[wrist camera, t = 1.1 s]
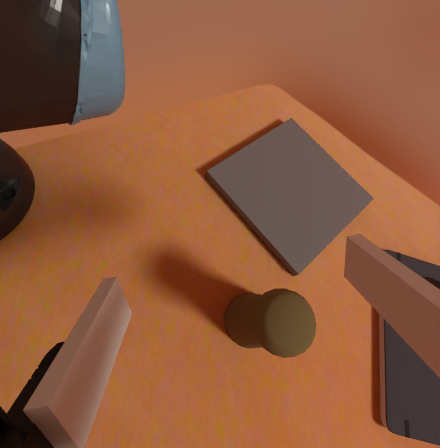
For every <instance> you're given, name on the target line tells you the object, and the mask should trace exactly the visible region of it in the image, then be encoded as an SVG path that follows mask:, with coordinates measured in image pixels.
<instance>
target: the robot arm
mask: <svg viewBox="0 0 440 448" xmlns="http://www.w3.org/2000/svg"><path fill="white" fill-rule="evenodd" d="M122 41H123V40H122V32H121V24H120V16H119V10H118V4H117V0H0V133H1V132H8V131H15V130H22V129H30V128H37V127H44V126H51V125H58V124H65V123H68V124H70V125H75V124H76V123H78V122H80V121H81V120H86V119H91V118H96V117H102V116H106V115H110V114H112V113H114V112H115V111H116V110H117V109H118V108H119V107H120V105H121V104H122V101H123V99H124V93H125V63H124V50H123V42H122ZM34 190H35V184H34V177H33V174H32V171H31V169H30V167H29V166H28V164H27V163H26V162H25V160H24V159H23V158H22V157H21V156H20V155H19V154H18V153H17V152H16V151H15V150H14V149H13V148H12V147H11V146H9V145H8V144H7V143H5V142H4V141H2V140H1V139H0V240H1V239H2V238H4V237H5V236H6V235H8V234H9V233H10V232H11V231H12V230H13V229H14V228H15V227H16V226H17V225H18V224H19V223H20V222H21V221H22V219H23V218H24V216H25V215H26V213H27V212H28V210H29V208H30V206H31V203H32V200H33V196H34ZM344 277H345V278H346V279H347V280H348V281H349V282H350V283H351V284H352V285H353V286H354V287H355V288H356V290H357V291H358V292H359V293H360V294H361V295H362V296H363V297H364V298H365V299H366V300H367V301H368V302H369V303H370V304H371V306H372V307H373V308H374V309H375V310H376V311H377V312H378V313H379V314H380V315H381V316H382V317H383V318H384V319H385V320H386V321H387V323H388V324H389V325H390V326H391V327H392V328H393V329H394V330H395V331H396V332H397V333H398V334H399V335H400V336H401V337H402V338H403V340H404V341H405V342H406V343H407V344H408V345H409V346H410V347H411V348H412V349H413V350H414V351H415V352H416V353H417V354H418V356H419V357H420V358H421V359H422V360H423V361H424V362H425V363H426V364H427V365H428V366H429V367H430V368H431V369H432V370H433V371H434V373H435V374H436V375H437V376H438V377H439V378H440V281H438V280H435V279H433V278H430V277H423V278H422V277H421V276H419V275H418V274H417V273H415V272H414V271H412V270H411V269H409V268H408V267H406V266H405V265H404V264H402V263H401V262H399V261H398V260H396V259H395V258H394V257H392V256H391V255H389V254H388V253H386V252H385V251H383V250H382V249H381V248H379V247H378V246H376V245H375V244H373V243H372V242H371V241H369V240H368V239H366V238H365V237H363V236H362V235H360V234H358V235H353V236H347V241H346V256H345V270H344ZM131 315H132V313H131V310H130V308H129V305H128V303H127V300H126V298H125V295H124V293H123V290H122V288H121V285H120V283H119V280H118V278H117V277H112V278H106V279H103V281H102V282H101V284H100V286H99V287H98V289H97V290H96V292H95V294H94V295H93V297H92V299H91V300H90V302H89V303H88V305H87V307H86V308H85V310H84V312H83V313H82V315H81V316H80V318H79V320H78V321H77V323H76V325H75V326H74V328H73V330H72V331H71V333H70V334H69V336H68V338H67V339H66V341H65V342H60V343H57V344H56V345H55V346H54V347H53V348H52V349H51V350H50V351H49V352H48V353H47V354H46V355H45V357H44V358H43V360H42V361H41V363H40V364H39V366H38V369H36V370H35V372H34V373H33V375H32V376H31V377H32V378H31V379H29V381H28V382H27V384H26V385H25V387H24V388H23V390H22V391H21V393H20V394H19V396H18V397H17V399H16V400H15V402H14V403H13V405H12V407H11V408H10V410H9V411H8V413H7V414H6V412H5V411H4V410H3V409H2V408H1V407H0V448H84V447H85V444H86V442H87V439H88V436H89V433H90V430H91V428H92V425H93V422H94V419H95V416H96V413H97V411H98V408H99V405H100V402H101V399H102V397H103V394H104V391H105V388H106V385H107V382H108V380H109V377H110V374H111V371H112V368H113V366H114V363H115V360H116V357H117V354H118V351H119V349H120V346H121V343H122V340H123V337H124V335H125V332H126V329H127V326H128V323H129V320H130V318H131Z"/></svg>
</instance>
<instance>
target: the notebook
mask: <svg viewBox="0 0 440 448" xmlns="http://www.w3.org/2000/svg"><path fill="white" fill-rule="evenodd" d="M384 251H385V252H386V253H388V254H389V255H391V256H392V257H394V258H395V259H396V260H398V261H399V262H401V263H402V264H404V265H405V266H406V267H408V268H409V269H411V270H412V271H414V272H415V273H417V274H418V275H419V276H421V277H422V278H423V277H430V278H433V279H435V280H438V281H440V266H438V265H435V264H431V263H428V262H425V261H422V260H419V259H416V258H413V257H409V256H406V255H403V254H400V253H397V252H394V251H391V250H384ZM379 358H380V418H381V422H382V424H383V425H384V426H385V427H387V428H388V429H389V431H390V432H392V433H394V434H397V435H401V436H404V437H408V438H413V439H417V440H421V441H424V442H428V443H432V444H436V445H440V378H439V377H438V376H437V375H436V374H435V373H434V371H433V370H432V369H431V368H430V367H429V366H428V365H427V364H426V363H425V362H424V361H423V360H422V359H421V358H420V357H419V356H418V354H417V353H416V352H415V351H414V350H413V349H412V348H411V347H410V346H409V345H408V344H407V343H406V342H405V341H404V340H403V338H402V337H401V336H400V335H399V334H398V333H397V332H396V331H395V330H394V329H393V328H392V327H391V326H390V325H389V324H388V323H387V321H386V320H385V319H384V318H383V317H382V316H381V315H380V314H379Z"/></svg>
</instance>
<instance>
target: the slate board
mask: <svg viewBox="0 0 440 448" xmlns="http://www.w3.org/2000/svg"><path fill="white" fill-rule="evenodd" d="M206 178H207V179H208V180H209V181H210V182H211V183H212V185H213V186H214V187H215V188H216V189H217V190H218V191H219V193H220V194H221V195H222V196H223V197H224V198H225V199H226V200H227V202H228V203H229V204H230V205H231V206H232V207H233V208H234V210H235V211H236V212H237V213H238V214H239V215H240V216H241V218H242V219H243V220H244V221H245V222H246V223H247V224H248V225H249V227H250V228H251V229H252V230H253V231H254V232H255V233H256V235H257V236H258V237H259V238H260V239H261V240H262V241H263V242H264V244H265V245H266V246H267V247H268V248H269V249H270V250H271V252H272V253H273V254H274V255H275V256H276V257H277V258H278V259H279V261H280V262H281V263H282V264H283V265H284V266H285V267H286V269H287V270H288V271H289V272H290V273H291V274H292V275H293V276H295V275H298V274H300V273H301V272H302V271H303V270H304V269H305V268H306V267H307V265H308V264H309V263H310V262H311V261H312V260H313V259H314V258H315V257H316V256H317V255H318V254H319V253H320V252H321V251H322V250H323V249H324V248H325V247H326V246H327V245H328V244H329V243H330V242H331V241H332V240H333V239H334V238H335V237H336V236H337V235H338V234H339V233H340V232H341V231H342V230H343V229H344V228H345V227H346V226H347V225H348V224H349V223H350V222H351V221H352V220H353V219H354V218H355V217H356V216H357V215H358V214H359V213H360V212H361V211H362V210H363V209H364V208H365V207H366V206H367V205H368V204H369V203H370V202H371V201H372V200H373V199H374V198H373V197H372V196H371V195H370V194H369V193H368V192H367V191H366V190H364V189H363V188H362V187H361V186H360V185H359V184H358V183H357V182H356V181H355V180H354V179H353V178H352V177H351V176H350V175H349V174H348V173H347V172H346V171H345V170H344V169H343V168H342V167H341V166H340V165H339V164H338V163H337V162H336V161H335V160H334V159H333V158H332V157H331V156H330V155H329V154H328V153H327V152H326V151H325V150H324V149H323V148H322V147H321V146H320V145H318V144H317V143H316V142H315V141H314V140H313V139H312V138H311V137H310V136H309V135H308V134H307V133H306V132H305V131H304V130H303V129H302V128H301V127H300V126H299V125H298V124H297V123H296V122H295V121H294V120H293V119H292V118H290V119H289V120H287V121H286V122H284V123H282V124H281V125H279V126H278V127H276V128H274V129H273V130H271V131H270V132H268V133H266V134H265V135H263V136H262V137H260V138H258V139H257V140H255V141H254V142H252V143H250V144H249V145H247V146H246V147H244V148H242V149H241V150H239V151H238V152H236V153H234V154H233V155H231V156H230V157H228V158H226V159H225V160H223V161H222V162H220V163H218V164H217V165H215V166H214V167H212V168H211V169H209V170H207V172H206Z"/></svg>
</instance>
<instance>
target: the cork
mask: <svg viewBox="0 0 440 448" xmlns="http://www.w3.org/2000/svg"><path fill="white" fill-rule="evenodd" d="M225 326H226V329H227V332H228V334H229V336H230V337H231V338H232V340H233V341H234V342H235V343H237V344H238V345H240V346H242V347H245V348H260V347H263V348H264V349H266V350H267V351H268V352H270V353H271V354H273V355H277V356H280V357H283V358H285V357H295V356H297V355H299V354H301V353H303V352H305V351H306V350H307V349H308V348H309V347H310V345H311V344H312V342H313V339H314V337H315V332H316V321H315V315H314V313H313V311H312V308H311V306H310V305H309V303H308V302H307V301H306V300H305V299H304V297H302V296H301V295H299V294H298V293H296V292H294V291H291V290H288V289H273V290H271V291H268V292H266V293H264V294H263V295H260V294H253V293H244V294H241V295H239V296H237V297H235V298H234V299H233V300H232V301H231V302H230V304H229V306H228V307H227V310H226V314H225Z"/></svg>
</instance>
